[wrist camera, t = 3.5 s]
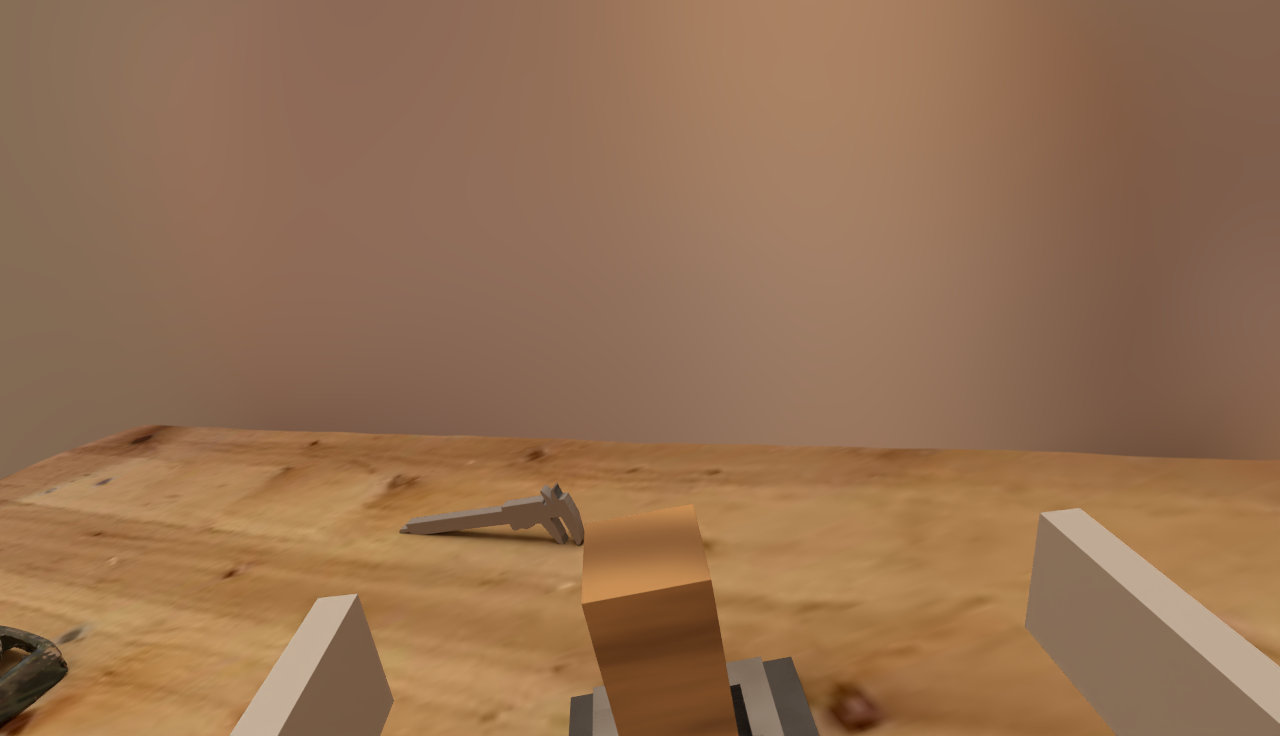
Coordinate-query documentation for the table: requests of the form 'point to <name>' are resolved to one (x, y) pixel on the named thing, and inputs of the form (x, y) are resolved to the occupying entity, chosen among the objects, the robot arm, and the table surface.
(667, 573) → the peg
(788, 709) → the socket board
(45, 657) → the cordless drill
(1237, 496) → the table surface
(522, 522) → the caliper
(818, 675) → the table surface
